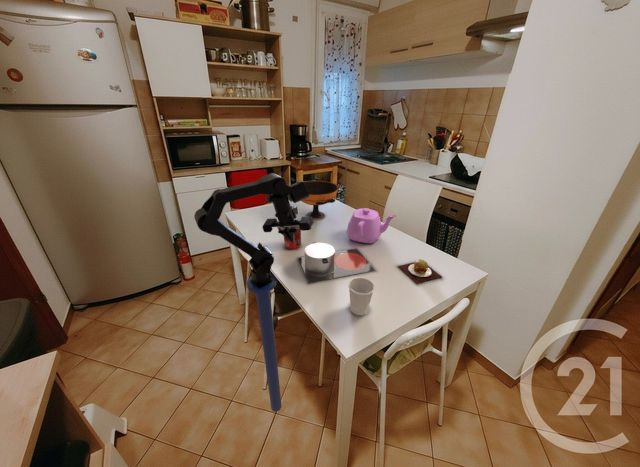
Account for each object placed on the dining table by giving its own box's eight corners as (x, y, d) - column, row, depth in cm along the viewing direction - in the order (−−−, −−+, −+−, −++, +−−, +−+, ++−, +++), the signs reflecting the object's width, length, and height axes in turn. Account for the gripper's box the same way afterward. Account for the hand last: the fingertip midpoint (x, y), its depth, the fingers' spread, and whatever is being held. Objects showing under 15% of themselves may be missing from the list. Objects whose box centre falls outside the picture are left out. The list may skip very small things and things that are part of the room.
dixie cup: (344, 300, 91) (346, 277, 87) (368, 299, 92) (371, 276, 87) (348, 319, 84) (350, 294, 79) (374, 317, 84) (378, 293, 80)
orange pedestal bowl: (284, 208, 164) (283, 181, 156) (320, 202, 175) (320, 176, 166) (309, 232, 136) (309, 200, 128) (350, 223, 147) (352, 193, 138)
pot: (310, 280, 101) (310, 262, 97) (301, 259, 114) (300, 243, 110) (339, 274, 104) (340, 257, 100) (327, 254, 117) (327, 239, 113)
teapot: (340, 245, 125) (342, 216, 118) (352, 226, 143) (353, 200, 136) (389, 254, 118) (393, 224, 111) (394, 234, 135) (399, 207, 128)
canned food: (300, 250, 121) (299, 228, 116) (283, 249, 121) (281, 228, 116) (301, 241, 128) (301, 221, 122) (285, 241, 128) (284, 221, 122)
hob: (309, 283, 100) (309, 282, 99) (298, 258, 115) (298, 257, 114) (375, 270, 107) (375, 270, 107) (356, 248, 122) (356, 248, 122)
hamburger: (421, 261, 113) (424, 250, 111) (441, 277, 104) (444, 266, 101) (398, 266, 110) (400, 255, 107) (416, 284, 100) (419, 272, 97)
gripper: (312, 195, 99) (319, 229, 107) (267, 199, 104) (277, 231, 112) (305, 210, 90) (314, 246, 99) (256, 213, 95) (268, 247, 103)
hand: (293, 242), depth 103 cm, fingers closed
